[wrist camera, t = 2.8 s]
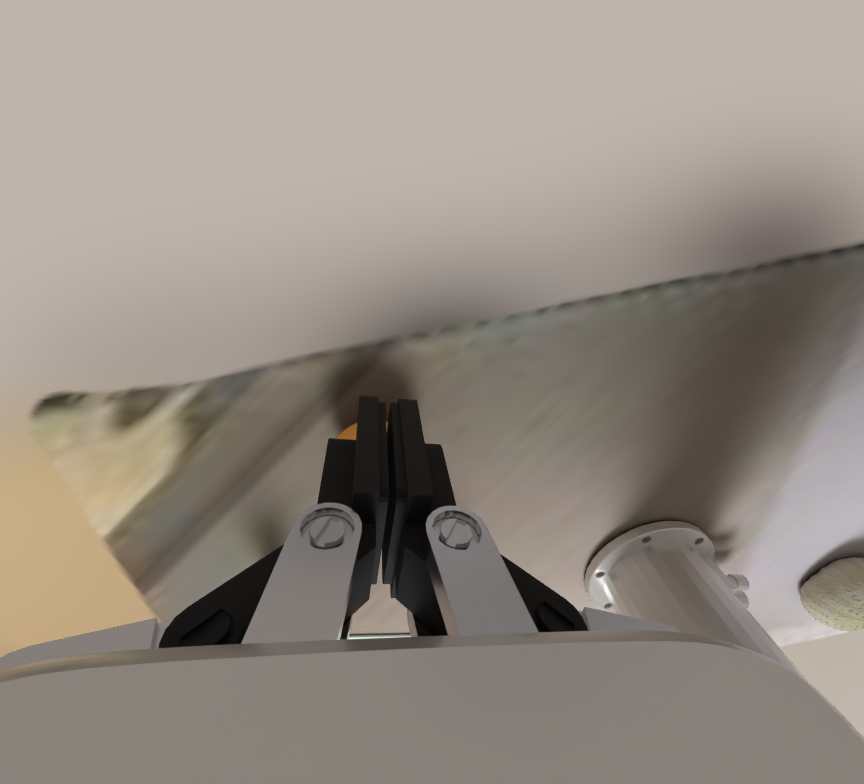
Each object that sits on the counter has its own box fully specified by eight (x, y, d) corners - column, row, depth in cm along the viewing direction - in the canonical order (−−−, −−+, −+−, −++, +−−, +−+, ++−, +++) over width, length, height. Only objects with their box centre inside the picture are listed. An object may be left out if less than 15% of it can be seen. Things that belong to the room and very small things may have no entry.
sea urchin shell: (883, 606, 45) (891, 670, 40) (792, 574, 50) (789, 628, 45) (917, 555, 41) (930, 620, 36) (813, 524, 46) (812, 578, 41)
